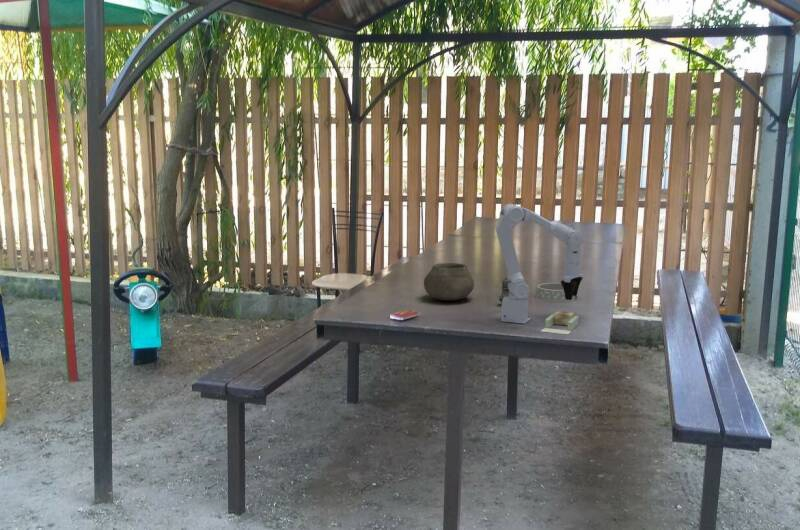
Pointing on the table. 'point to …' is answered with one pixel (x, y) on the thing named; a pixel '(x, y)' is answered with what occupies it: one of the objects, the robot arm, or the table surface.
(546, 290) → the dog bowl
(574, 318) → the rails
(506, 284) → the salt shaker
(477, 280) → the table surface
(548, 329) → the mat
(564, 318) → the birch block
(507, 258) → the robot arm
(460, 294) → the clay pot
